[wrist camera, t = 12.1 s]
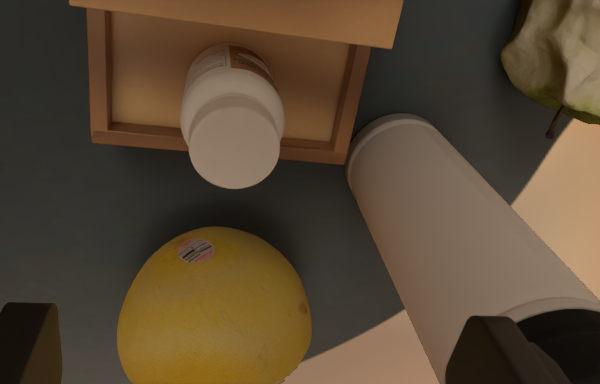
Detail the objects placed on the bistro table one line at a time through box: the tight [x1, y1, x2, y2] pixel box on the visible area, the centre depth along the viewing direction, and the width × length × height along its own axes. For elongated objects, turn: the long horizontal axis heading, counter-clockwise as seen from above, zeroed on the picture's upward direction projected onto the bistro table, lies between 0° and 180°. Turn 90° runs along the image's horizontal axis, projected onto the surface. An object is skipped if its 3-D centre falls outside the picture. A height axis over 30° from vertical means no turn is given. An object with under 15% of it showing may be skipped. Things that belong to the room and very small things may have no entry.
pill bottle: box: [180, 43, 285, 189], centre depth 22 cm, size 4×4×8 cm
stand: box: [69, 0, 404, 165], centre depth 23 cm, size 12×13×6 cm
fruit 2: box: [500, 0, 600, 139], centre depth 26 cm, size 9×9×8 cm
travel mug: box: [344, 113, 600, 384], centre depth 23 cm, size 6×7×20 cm
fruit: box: [117, 226, 312, 384], centre depth 29 cm, size 10×11×10 cm
